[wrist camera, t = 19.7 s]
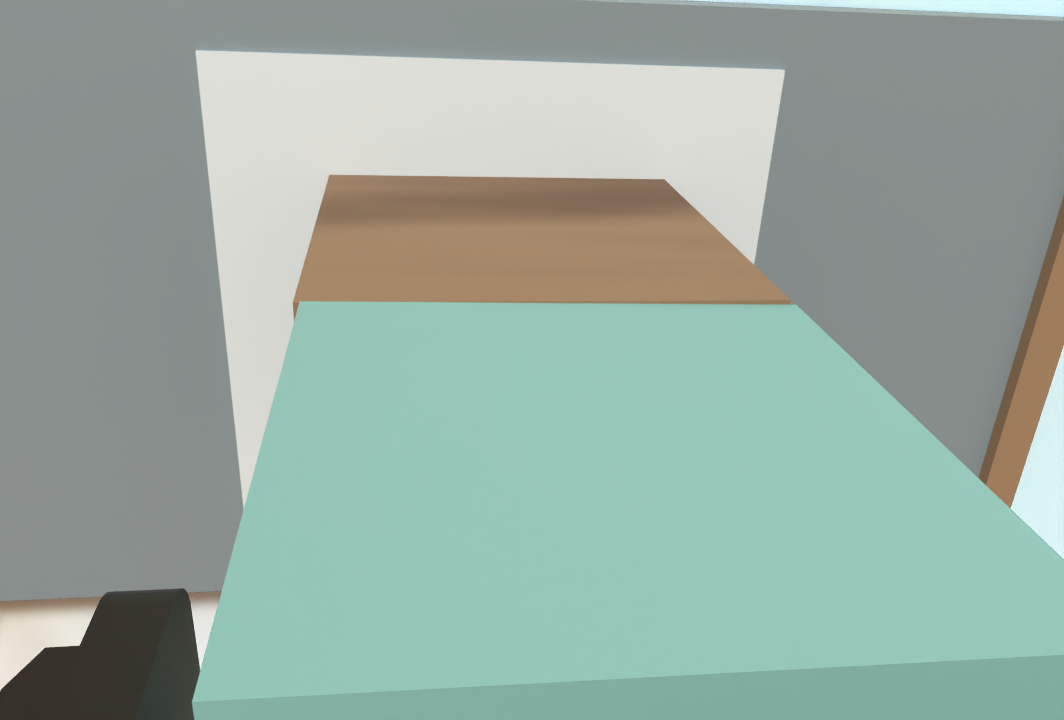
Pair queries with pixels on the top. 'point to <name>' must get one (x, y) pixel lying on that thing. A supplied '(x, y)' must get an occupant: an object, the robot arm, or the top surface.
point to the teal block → (616, 530)
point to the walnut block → (520, 244)
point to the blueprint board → (481, 151)
